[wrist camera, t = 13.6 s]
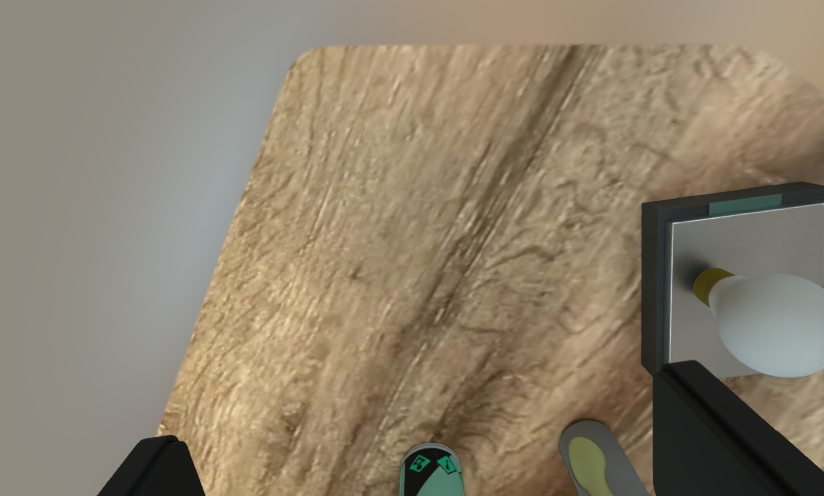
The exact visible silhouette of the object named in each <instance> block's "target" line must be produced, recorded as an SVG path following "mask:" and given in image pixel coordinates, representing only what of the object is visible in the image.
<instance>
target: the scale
mask: <svg viewBox="0 0 824 496" xmlns="http://www.w3.org/2000/svg"><path fill="white" fill-rule="evenodd" d="M711 268H720V269H723V270H725V271H727V272H730V273H732V274H734V275H737V276H748V277H754V276H757V275H762V274H772V273H780V274H790V275H794V276H798V277H801V278H804V279H807V280H809V281H811V282H813V283H815V284H817V285H819V286H820V287H822V288H823V287H824V186H822V185H817V184H812V183H806V182H796V183H789V184H781V185H774V186H766V187H759V188H751V189H744V190H737V191H729V192H722V193H714V194H707V195H700V196H692V197H685V198H677V199H670V200H662V201H655V202H648V203H642V363H641V364H642V365H643V367H644V368H645V369H646V370H647V371H648V372H649V373H650V374H651V375H652V377H653V376H654V374H655V373H658V372H660V370H661V367H662V365H663V364H666V363H673V362H680V361H687V360H696V361H698V362H699V363H701V364H702V365H703V366H704V367H705V368H706V369H708V370H709V371H710V372H711V373H712V374H713V375H714V376H715V377H717V378H718V379H720V378H728V377H737V376H745V375H753V374H762V373H761V372H758V371H756V370H754V369H752V368H750V367H748V366H746V365H745V364H743V363H742V362H740V361H739V360H738V359H737V358H735V357H734V356H733V355H732V354H731V353H730V352H729V350H728V349H727V348H726V346H725V345H724V343H723V341H722V339H721V337H720V334H719V331H718V327H717V317H716V316H715V315H714V314H713V312H712V311H711V309H710V308H709V307H708V306H706V305H705V304H704V303H703V302H701V301H700V300H699V299H698V298H697V297H696V296H695V294H694V291H693V286H694V282H695V280H696V278H697V277H698V276H699V275H700V274H701V273H702V272H703V271H705V270H707V269H711Z"/></svg>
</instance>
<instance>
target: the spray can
mask: <svg viewBox="0 0 824 496" xmlns="http://www.w3.org/2000/svg"><path fill="white" fill-rule="evenodd" d="M400 496H465V494H464V487H463V479H462V472H461V465H460V461H459V459H458V457H457V455H456V453H455V452H454V451H453V450H452V449H450V448H449V447H447V446H445V445H442V444H439V443H423V444H420V445H417V446H415V447H413V448H412V449H410V450H409V451H408V452H407V453H406V454H405V456H404V457H403V459H402V462H401V471H400Z"/></svg>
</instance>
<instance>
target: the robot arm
mask: <svg viewBox="0 0 824 496" xmlns="http://www.w3.org/2000/svg"><path fill="white" fill-rule="evenodd" d="M653 486H654V490H655V493H656V496H824V472H823V471H822V470H821V469H820V468H819V467H818V466H817V465H815V464H814V463H813V462H812V461H811V460H810V459H809V458H808V457H806V456H805V455H804V454H803V453H802V452H801V451H800V450H799V449H797V448H796V447H795V446H794V445H793V444H792V443H791V442H789V441H788V440H787V439H786V438H785V437H784V436H783V435H782V434H780V433H779V432H778V431H776V430H775V429H774V428H773V427H771V426H770V425H769V424H768V423H767V422H766V421H765V420H764V419H763V418H761V417H760V416H759V415H758V414H757V413H756V412H755V411H754V410H752V409H751V408H750V407H749V406H748V405H747V404H746V403H745V402H743V401H742V400H741V399H740V398H739V397H738V396H737V395H736V394H734V393H733V392H732V391H731V390H730V389H729V388H728V387H727V386H725V385H724V384H723V383H722V382H721V381H720V380H719V379H718V378H717V377H715V376H714V375H713V374H712V373H711V372H710V371H709V370H708V369H706V368H705V367H704V366H703V365H702V364H701V363H699V362H698V361H696V360H687V361H680V362H673V363H666V364H663V365H662V367H661V370H660V372H658V373H655V374H654V376H653ZM97 496H205V493H204V490H203V488H202V485H201V482H200V479H199V477H198V474H197V471H196V469H195V466H194V463H193V460H192V458H191V455H190V452H189V450H188V447H187V445H186V443H185V442H183V441H179V440H178V438H177V437H176V436H174V435H167V436H160V437H153V438H146V439H143V440H141V441H140V442H139V443H138V444H137V445H136V446H135V447H134V449H133V450H132V451H131V453H130V454H129V455H128V456H127V458H126V459H125V460H124V462H123V463H122V464H121V466H120V467H119V468H118V469H117V471H116V472H115V473H114V474H113V476H112V477H111V478H110V480H109V481H108V482H107V483H106V485H105V486H104V487H103V489H102V490H101V491H100V492H99V494H98V495H97Z"/></svg>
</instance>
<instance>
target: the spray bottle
mask: <svg viewBox="0 0 824 496" xmlns="http://www.w3.org/2000/svg"><path fill="white" fill-rule="evenodd" d="M559 449H560V453H561V456H562V458H563V460H564V462H565V464H566V467H567V469H568V471H569V473H570V475H571V478H572V480H573V482H574V484H575V486H576V489H577V491H578V493H579V495H580V496H650V495H649V493H648V492H647V490H646V488H645V487H644V485H643V483H642V482H641V480H640V478H639V476H638V475H637V473H636V471H635V470H634V468H633V466H632V465H631V463H630V461H629V460H628V458H627V456H626V455H625V453H624V451H623V450H622V448H621V446H620V445H619V443H618V441H617V440H616V438H615V436H614V435H613V433H612V431H611V430H610V429H609V428H608V427H607V426H605V425H604V424H602V423H600V422H597V421H592V420H586V421H580V422H577V423H575V424H573V425H571V426H570V427H569V428H567V429H566V431H565V432H564V433H563V435H562V437H561V439H560V443H559Z"/></svg>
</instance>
